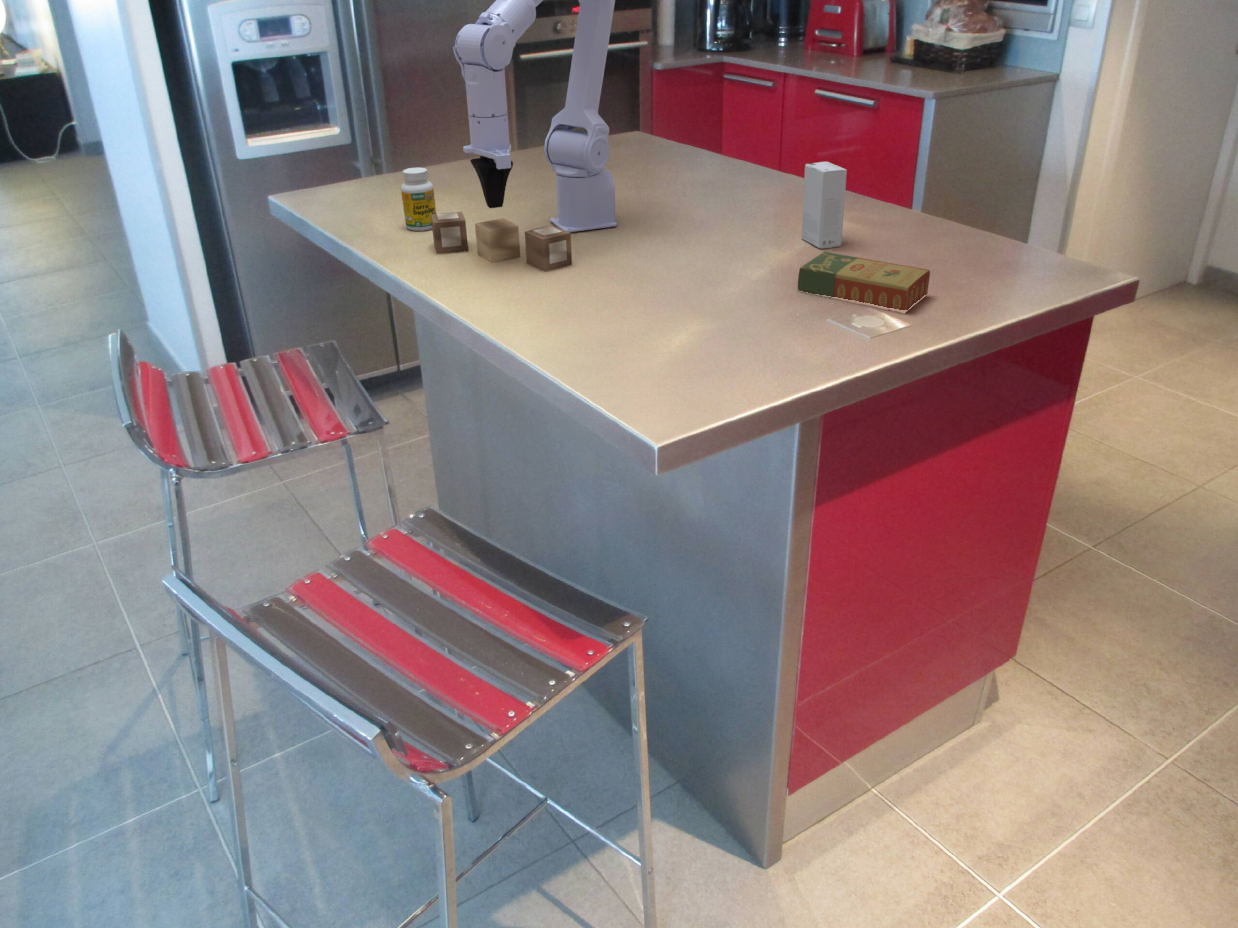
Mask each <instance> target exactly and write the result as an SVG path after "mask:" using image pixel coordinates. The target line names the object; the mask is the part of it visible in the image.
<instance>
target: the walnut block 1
mask: <svg viewBox="0 0 1238 928" xmlns="http://www.w3.org/2000/svg"><path fill="white" fill-rule="evenodd" d="M431 221H432V229H431V230H432V236H433V237H432V238H433V245H434V250H435V252H436V254H447V253H460V252H469V245H468V244H469V243H468V235H467V226H466V225H467V224H466V223H467V222H466V218H465V216H464V213H463V211H455V212H442V213H441V212H440V213H436V214H431Z"/></svg>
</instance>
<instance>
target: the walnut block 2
mask: <svg viewBox="0 0 1238 928" xmlns="http://www.w3.org/2000/svg"><path fill="white" fill-rule="evenodd" d="M571 233H572V232H567V231H565V230H562V229H560V228H558V227H557V226H556V225H554V224H553V225H552V224H551V225H548V226H544V227H538V228H535V229H534V228H533V229H530V230H525V231H524V242H525V255H526V256H525V257H526V264H528V265H530V266H532V267H534V268H537V269H538V270H541V271H542V272H548V271H552V270H556V269H559V268H563V267H564V268H565V267H568V266H572V264H573V260H572V259H573V258H572V257H573V255H572V235H571Z"/></svg>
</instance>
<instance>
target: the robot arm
mask: <svg viewBox="0 0 1238 928" xmlns="http://www.w3.org/2000/svg"><path fill="white" fill-rule="evenodd" d="M543 1H544V0H495V1H494V2H493V3H492V4H491V5H490V6H489V8H487V10H486V11H485V12H482V13H481V14H480V15H479V16H478V19H477V20H476V22H475V23H469V24H466V25H464V26H463V27H462V28H461V29H460V30H459V32H458V33H457V35H456V37H455V45H454V46H453V47H452V50H453V55H454V57H455V59H456V61H457V63H458V64H459V65H460V66H459V67H460V68H461V69H460V70H461V76H462V78H463V79H464V83H465V91H466V92H465V93H466V104H467V105H466V107H467V114H468V115H467V116H468V126H469V127H468V128H469V139H470V144H469V145H464V146H463V147H462V149H463V152H464V153H465V154H474V155H478V156H479V157H477V158H471V159H470V163H471V166H473V168H474V170H475V172H476V175H477V177H478V179H479V183H480V186H481V189H482V193H483V196H484V199H485V203H486V205H487V207H488V208H489V209H496V208H503V206H504V202H505V201H504V200H505V195H506V187H507V182H508V178H509V175H510V173H511V171H512V169H513V166H514V162H513V160H512V158H511V150H512V144H511V142H510V132H509V117H508V113H509V112H508V102H507V101H508V100H507V89H506V88H507V87H506V85H507V84H506V73H505V72H506V71H505V67H506V66H509V65H510V62H511V60H512V57H513V51H514V48H515V47H516V43H517V42H518V40H519V39H520V38H521V37H522V36H523V34H524V33H525V32H526V31H527V30H528V28H530V27H531V25H532V24H533V23H535V20H536V18H537V10H536V8H537V6H539V5H540V4H541V3H542V2H543ZM577 1H578V3H579V9H578V16H577V22H576V29H575V35H574V36H575V37H574V43H573V51H572V57H571V64H570V72H569V78H568V85H567V92H566V97H565V104H564V105H565V106H564V108H563V109H561V110H559V112H558V113H556V114H555V115H554V116H553V117H552V118H551V124H550V127H549V131H548V133H547V135H546V137H545V140H544V144H543V145H544V146H543V148H544V149H543V150H544V151H543V152H544V156H545V159H546V161H547V162H548V164H549V165H551V168H552V169H551V170H552V172H555V183H556V184H555V185H556V201H557V203H556V206H557V216H556V217H550V222H551V223H552V224H553V225H554V226H555V227H558V228H560V229H562V230H565V231H567V232H570V233H575V232H582V231H583V232H584V231H589V230H598V229H604V228H605V229H606V228H613V227H617V226H618V223H617V221H616V188H615V187H616V185H615V181H614V177H613V174H612V172H611V171H610V170H609V169H608V168H605V167H606V165H607V163H608V161H609V158H610V143H609V135H610V126H608V125H609V124H607V123H606V121H605V120H604V119H603V118H602V117H601V115H600V114H599V107H600V100H601V94H602V89H603V88H602V87H603V82H604V76H605V75H604V74H605V69H606V63H607V58H608V57H607V56H608V49H609V43H610V37H611V31H612V24H613V23H612V22H613V16H614V10H615V3H616V0H577ZM578 128H579V129H584V130H586V131H583V130H575V129H578Z"/></svg>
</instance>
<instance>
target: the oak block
mask: <svg viewBox="0 0 1238 928" xmlns="http://www.w3.org/2000/svg"><path fill="white" fill-rule="evenodd" d="M474 227H475V239H476V250H477V255H478V256H480V257H482V258H483V259H485V260H487V261H488V262H490V264H491V263H492V264H493V263H497V262H501V261H507V260H511V259H516V258H521V246H520V232H519V231H520V230H519V225H517V224H516V223H514V222H512V221H511V220H509V219H507V218H504V217H503V218H498V219H497V218H496V219H491V220H486V221H481V222H475V223H474Z"/></svg>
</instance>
